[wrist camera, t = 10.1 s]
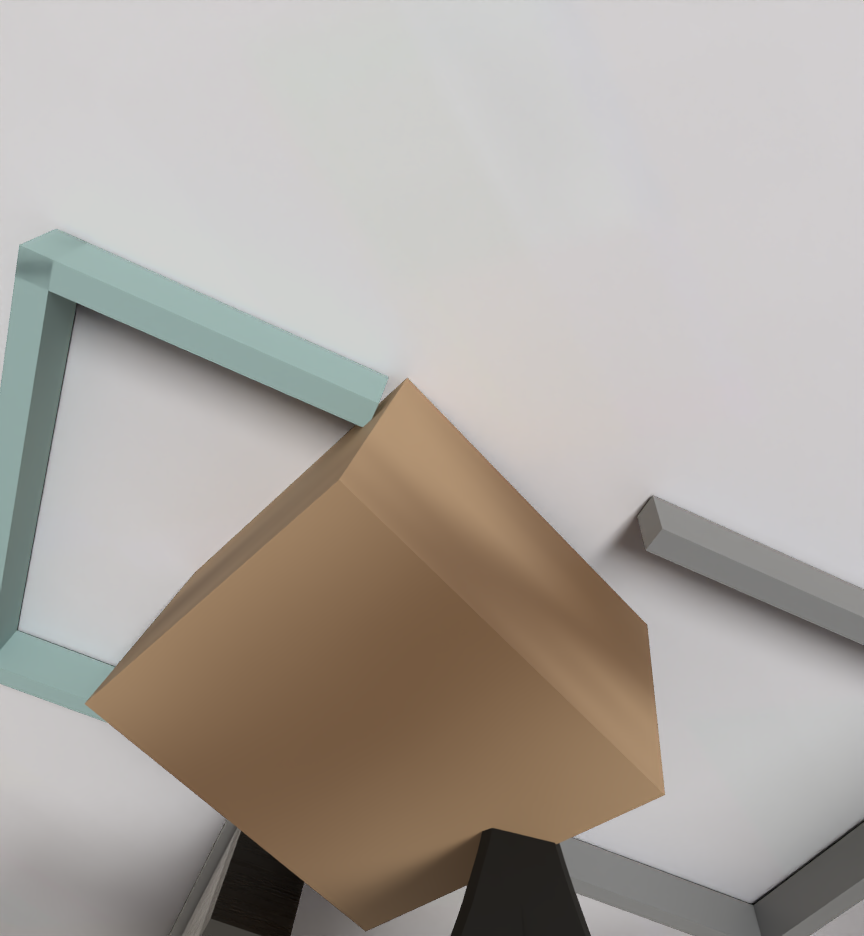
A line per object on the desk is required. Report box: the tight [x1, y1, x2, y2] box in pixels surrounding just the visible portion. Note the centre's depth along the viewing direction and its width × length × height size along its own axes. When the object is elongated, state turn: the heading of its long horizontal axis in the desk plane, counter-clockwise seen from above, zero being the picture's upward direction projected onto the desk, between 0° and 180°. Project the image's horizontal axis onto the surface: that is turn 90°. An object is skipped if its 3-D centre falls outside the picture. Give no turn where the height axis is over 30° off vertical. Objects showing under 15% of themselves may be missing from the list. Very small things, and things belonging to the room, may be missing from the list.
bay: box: [0, 229, 389, 722], centre depth 11 cm, size 4×8×1 cm, turn 156°
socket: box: [169, 496, 864, 936], centre depth 15 cm, size 11×18×1 cm, turn 156°
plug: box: [85, 378, 665, 931], centre depth 10 cm, size 5×5×3 cm
